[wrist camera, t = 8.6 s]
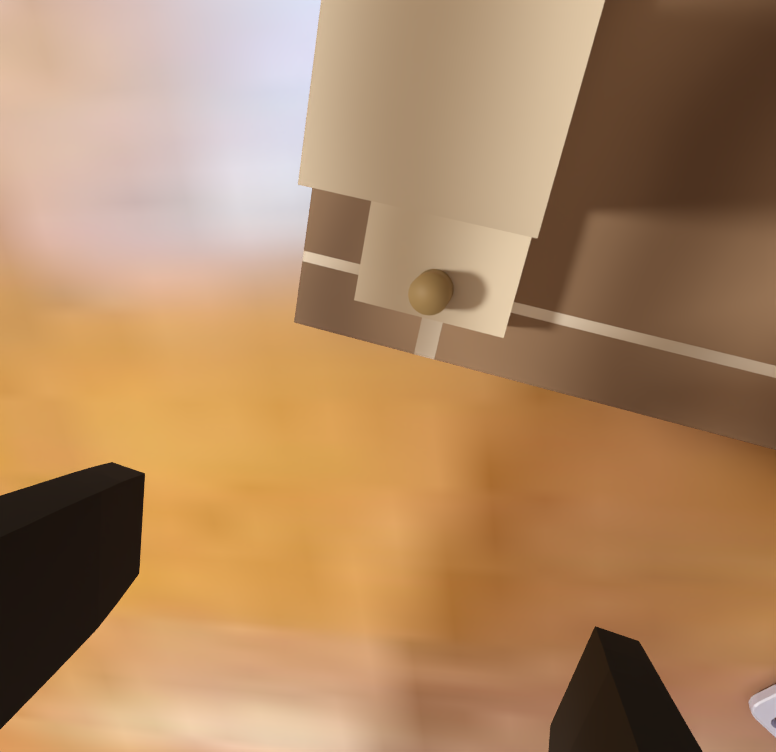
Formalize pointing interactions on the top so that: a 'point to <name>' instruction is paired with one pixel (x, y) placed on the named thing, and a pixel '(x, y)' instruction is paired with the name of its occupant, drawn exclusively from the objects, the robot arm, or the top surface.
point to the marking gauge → (445, 141)
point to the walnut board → (626, 233)
